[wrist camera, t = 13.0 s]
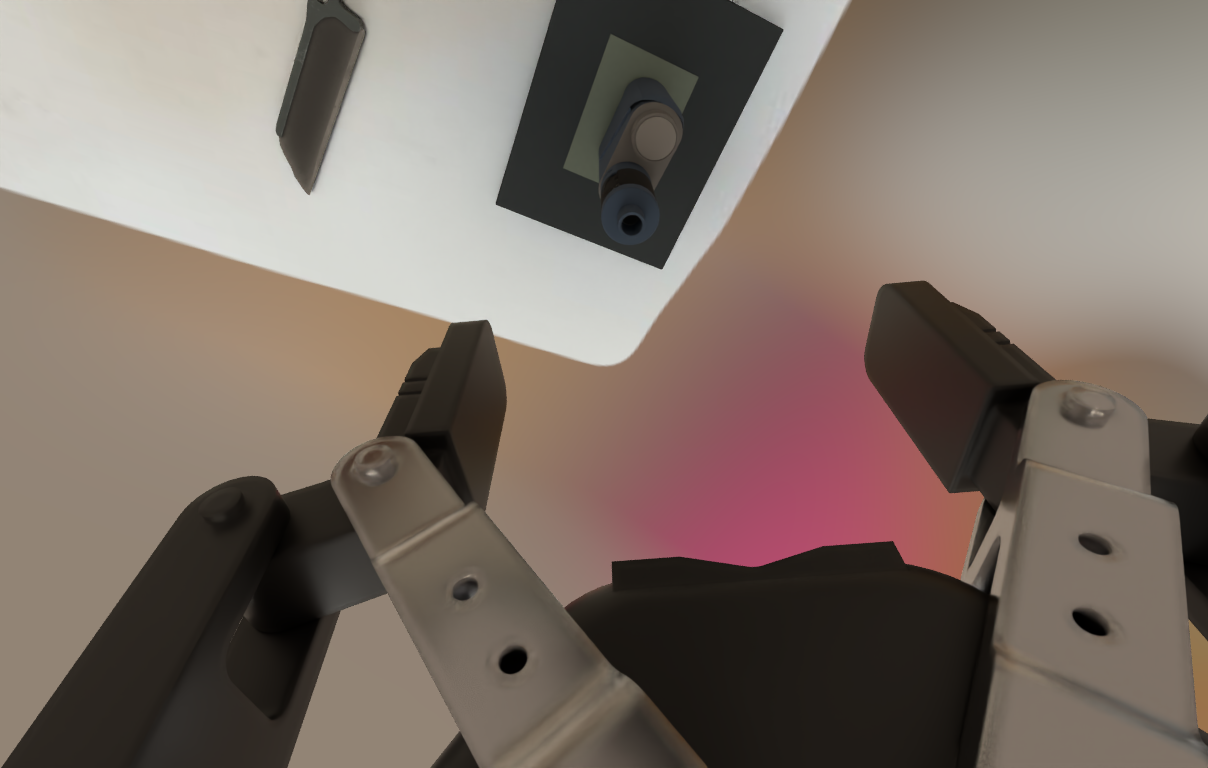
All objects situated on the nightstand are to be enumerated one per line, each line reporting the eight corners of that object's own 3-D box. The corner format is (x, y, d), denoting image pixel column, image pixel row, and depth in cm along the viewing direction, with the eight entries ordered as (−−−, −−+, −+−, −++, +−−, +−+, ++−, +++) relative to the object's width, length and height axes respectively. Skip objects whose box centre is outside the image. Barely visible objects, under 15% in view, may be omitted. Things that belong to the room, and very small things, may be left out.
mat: (580, -79, 26) (580, -80, 25) (781, 29, 28) (784, 29, 28) (496, 202, 33) (495, 205, 33) (661, 266, 36) (662, 270, 35)
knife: (341, -106, 25) (335, -108, 24) (424, -45, 26) (420, -45, 26) (263, 166, 32) (257, 169, 31) (332, 204, 33) (328, 207, 32)
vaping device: (589, 161, 31) (587, 239, 21) (634, 65, 28) (653, 105, 19) (630, 182, 32) (645, 266, 22) (676, 90, 29) (717, 141, 19)
